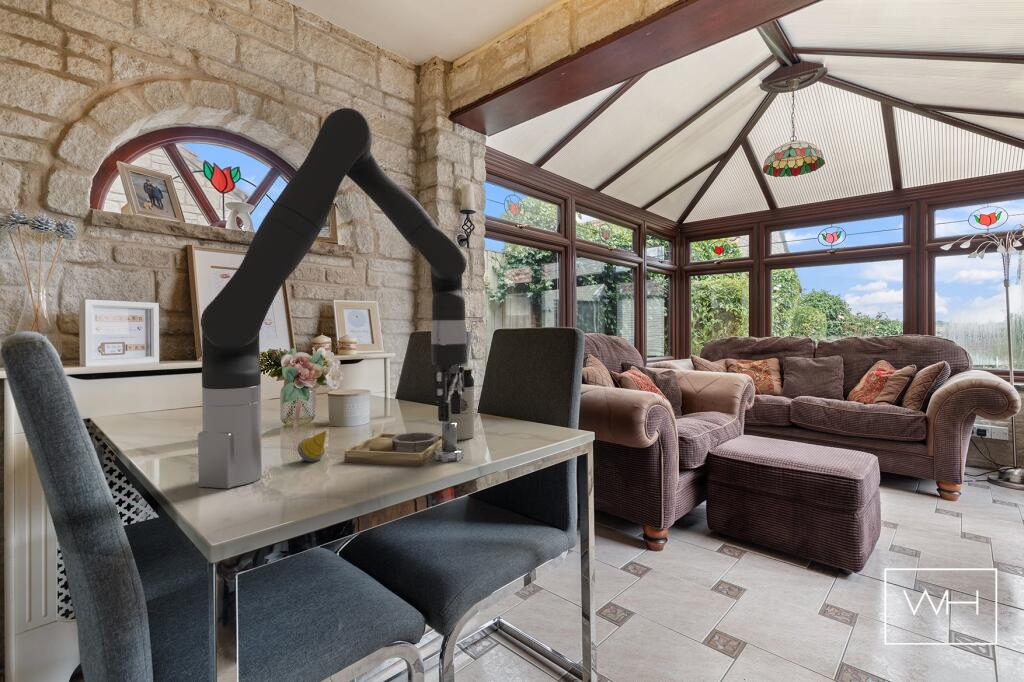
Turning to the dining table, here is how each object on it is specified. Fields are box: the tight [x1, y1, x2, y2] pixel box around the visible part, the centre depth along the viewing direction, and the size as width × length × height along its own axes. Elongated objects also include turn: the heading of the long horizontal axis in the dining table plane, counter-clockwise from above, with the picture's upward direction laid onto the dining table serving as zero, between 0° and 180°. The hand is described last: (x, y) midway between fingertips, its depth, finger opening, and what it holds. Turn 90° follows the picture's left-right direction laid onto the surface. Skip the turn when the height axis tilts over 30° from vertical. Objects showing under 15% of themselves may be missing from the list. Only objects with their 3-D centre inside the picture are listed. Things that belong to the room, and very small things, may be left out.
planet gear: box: [434, 421, 465, 463], centre depth 103 cm, size 6×6×8 cm
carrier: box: [343, 431, 442, 467], centre depth 106 cm, size 17×17×4 cm
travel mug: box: [447, 365, 475, 441], centre depth 123 cm, size 8×8×18 cm
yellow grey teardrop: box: [297, 430, 327, 463], centre depth 100 cm, size 5×5×10 cm
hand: (450, 417), depth 103 cm, fingers open, 8 cm apart
